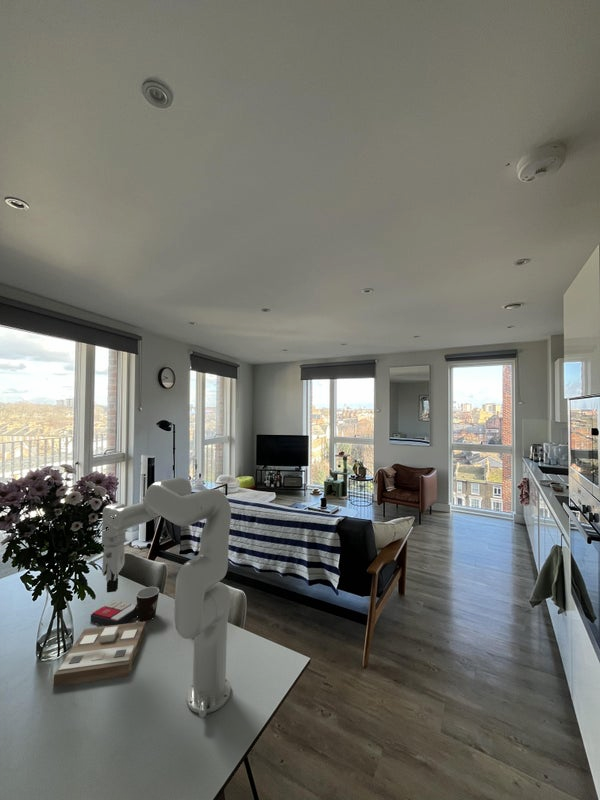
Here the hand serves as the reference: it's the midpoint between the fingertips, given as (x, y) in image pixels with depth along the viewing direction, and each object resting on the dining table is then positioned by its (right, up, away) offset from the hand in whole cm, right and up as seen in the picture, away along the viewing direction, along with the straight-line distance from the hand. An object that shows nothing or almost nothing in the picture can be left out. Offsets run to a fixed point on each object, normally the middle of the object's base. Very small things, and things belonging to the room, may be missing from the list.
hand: (112, 590), depth 116 cm
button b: (0, -17, -1) cm, 17 cm away
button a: (+6, -20, 0) cm, 20 cm away
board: (0, -19, -5) cm, 20 cm away
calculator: (-8, -21, +16) cm, 27 cm away
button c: (-7, -19, -3) cm, 20 cm away
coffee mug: (+4, -21, +15) cm, 26 cm away
